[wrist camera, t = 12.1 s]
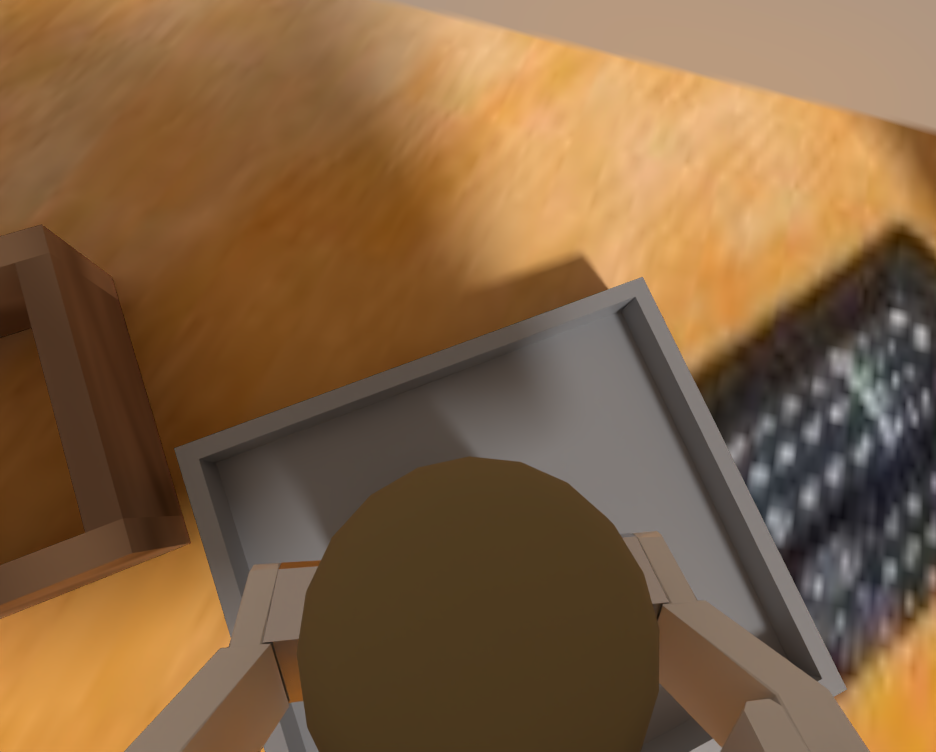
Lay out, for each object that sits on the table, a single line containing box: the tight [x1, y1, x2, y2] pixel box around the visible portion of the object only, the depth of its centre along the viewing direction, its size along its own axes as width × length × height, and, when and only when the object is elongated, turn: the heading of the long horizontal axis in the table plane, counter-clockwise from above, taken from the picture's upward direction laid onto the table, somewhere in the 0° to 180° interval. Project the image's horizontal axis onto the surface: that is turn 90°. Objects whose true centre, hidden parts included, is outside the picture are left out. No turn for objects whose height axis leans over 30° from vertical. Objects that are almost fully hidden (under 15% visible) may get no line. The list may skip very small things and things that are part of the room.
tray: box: [174, 277, 847, 752], centre depth 18 cm, size 17×15×2 cm
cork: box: [296, 456, 660, 752], centre depth 12 cm, size 6×6×11 cm
